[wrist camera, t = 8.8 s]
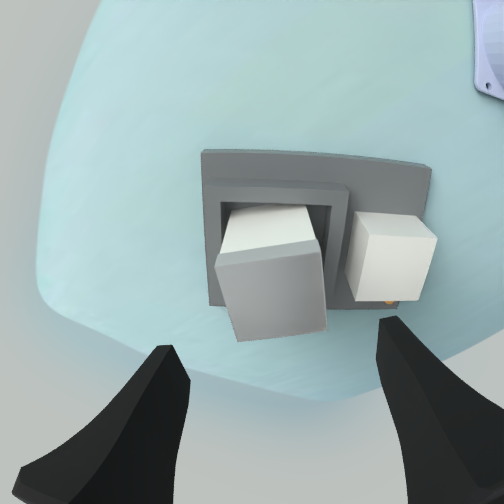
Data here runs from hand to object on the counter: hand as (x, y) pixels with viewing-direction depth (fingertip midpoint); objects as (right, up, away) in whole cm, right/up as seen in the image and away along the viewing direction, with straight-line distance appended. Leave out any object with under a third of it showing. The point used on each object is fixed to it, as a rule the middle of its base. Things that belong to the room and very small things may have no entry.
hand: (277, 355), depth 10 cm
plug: (0, +4, +8) cm, 9 cm away
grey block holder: (+3, +5, +9) cm, 10 cm away
